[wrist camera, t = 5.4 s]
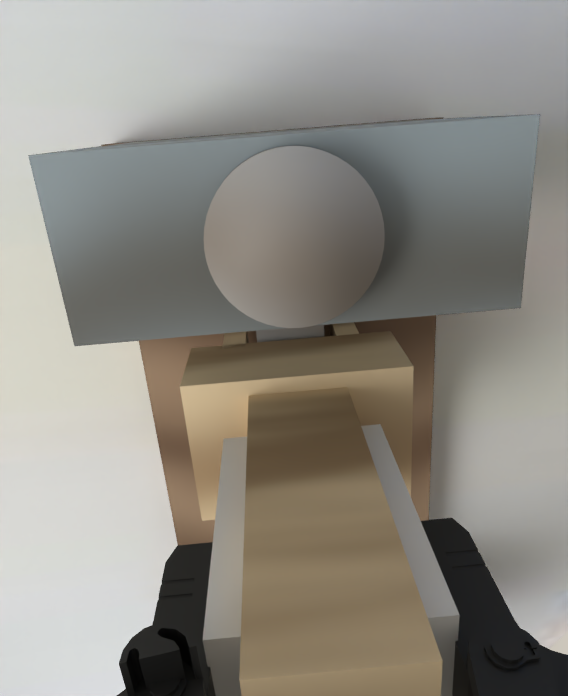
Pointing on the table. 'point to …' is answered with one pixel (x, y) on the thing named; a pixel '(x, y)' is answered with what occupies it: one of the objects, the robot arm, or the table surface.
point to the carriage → (315, 510)
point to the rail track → (288, 249)
